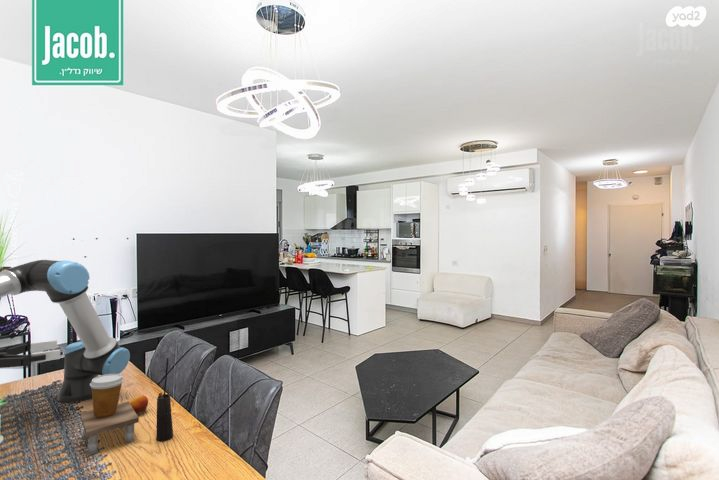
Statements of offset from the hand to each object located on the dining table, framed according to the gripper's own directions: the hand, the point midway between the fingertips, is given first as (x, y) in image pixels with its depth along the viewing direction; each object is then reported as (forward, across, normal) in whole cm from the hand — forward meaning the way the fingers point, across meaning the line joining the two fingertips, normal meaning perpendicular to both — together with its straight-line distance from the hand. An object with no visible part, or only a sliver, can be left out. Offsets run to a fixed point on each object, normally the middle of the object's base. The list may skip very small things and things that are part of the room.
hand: (58, 348), depth 113 cm
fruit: (+25, -9, -32) cm, 42 cm away
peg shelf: (+14, +5, -32) cm, 35 cm away
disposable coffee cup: (+13, +3, -24) cm, 27 cm away
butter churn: (+28, +15, -32) cm, 45 cm away
